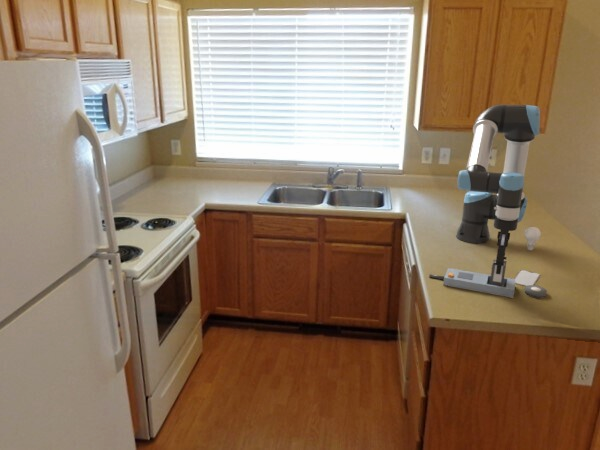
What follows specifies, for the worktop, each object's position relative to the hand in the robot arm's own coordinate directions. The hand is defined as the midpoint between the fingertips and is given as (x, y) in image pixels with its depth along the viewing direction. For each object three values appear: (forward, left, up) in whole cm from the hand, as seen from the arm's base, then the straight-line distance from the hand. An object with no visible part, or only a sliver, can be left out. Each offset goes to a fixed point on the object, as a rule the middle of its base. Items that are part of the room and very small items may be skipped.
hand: (497, 278), depth 169 cm
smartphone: (-15, +10, -5) cm, 19 cm away
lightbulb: (-49, +11, -4) cm, 50 cm away
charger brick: (0, 0, -4) cm, 4 cm away
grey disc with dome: (-2, +13, -4) cm, 14 cm away
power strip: (0, -9, -4) cm, 10 cm away
